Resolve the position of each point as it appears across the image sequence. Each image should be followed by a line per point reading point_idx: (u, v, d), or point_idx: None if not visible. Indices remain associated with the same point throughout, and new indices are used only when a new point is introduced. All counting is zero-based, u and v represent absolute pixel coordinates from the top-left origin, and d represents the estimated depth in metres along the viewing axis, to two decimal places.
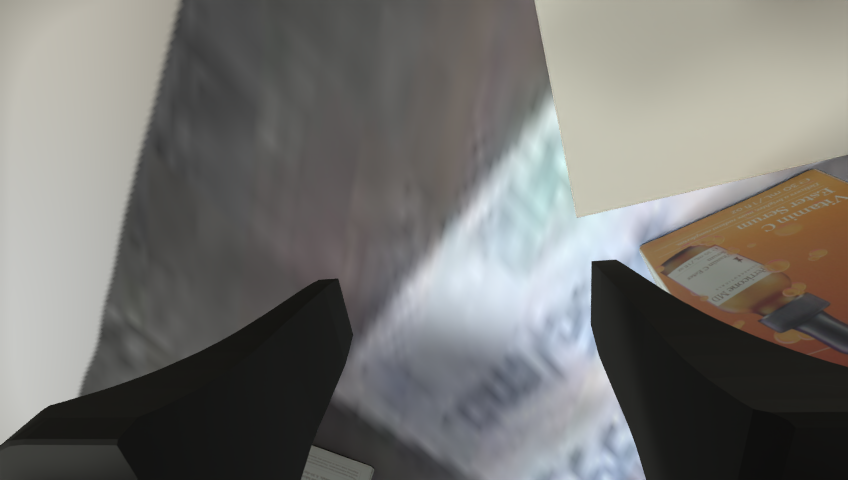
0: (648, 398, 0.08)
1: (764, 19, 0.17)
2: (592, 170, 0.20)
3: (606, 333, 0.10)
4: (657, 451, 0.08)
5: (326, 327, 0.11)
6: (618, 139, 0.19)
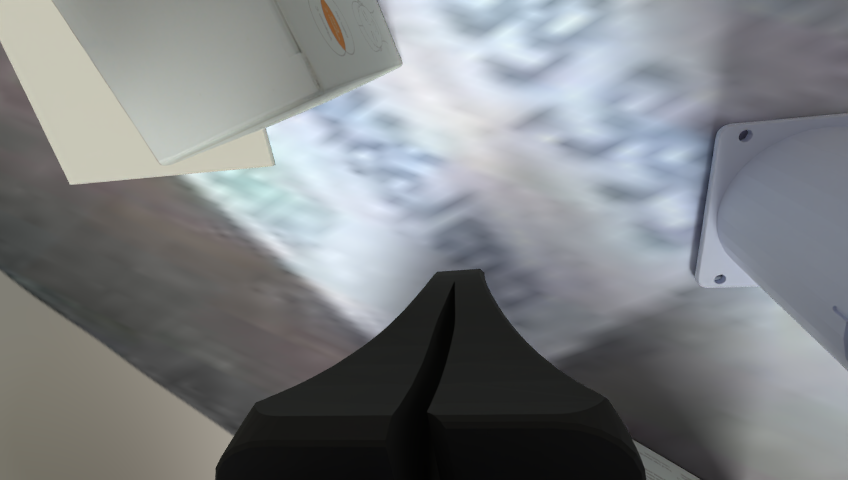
0: None
1: None
2: (229, 150, 0.22)
3: None
4: None
5: None
6: None
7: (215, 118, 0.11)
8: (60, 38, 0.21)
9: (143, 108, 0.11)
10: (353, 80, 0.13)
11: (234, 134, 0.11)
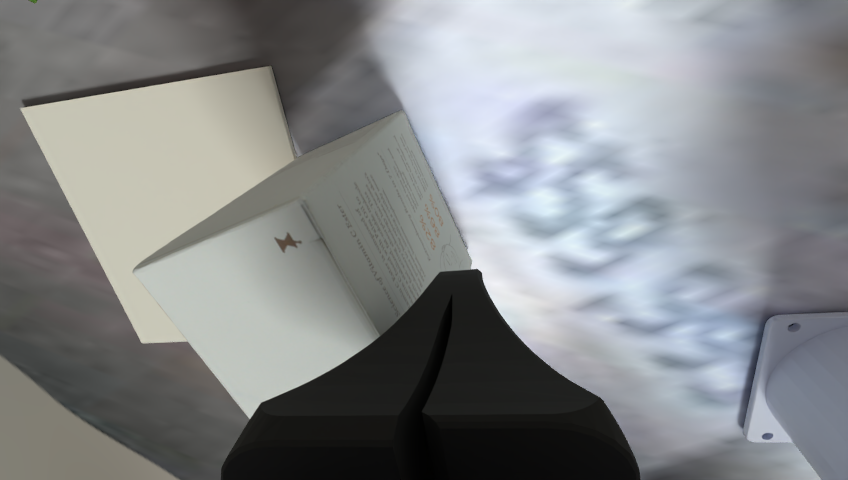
0: None
1: (187, 209, 0.22)
2: None
3: None
4: None
5: None
6: None
7: None
8: (142, 228, 0.23)
9: None
10: None
11: None
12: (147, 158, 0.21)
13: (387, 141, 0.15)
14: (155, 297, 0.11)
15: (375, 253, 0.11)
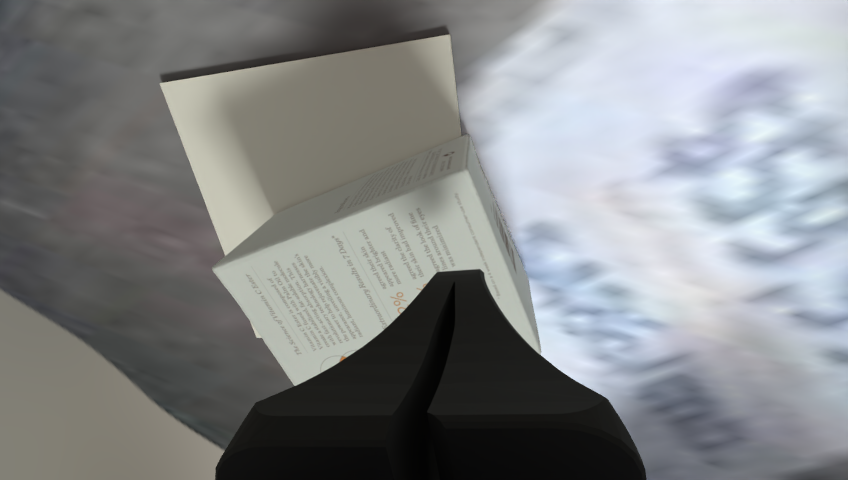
0: None
1: None
2: None
3: None
4: None
5: None
6: None
7: None
8: None
9: None
10: None
11: None
12: (294, 138, 0.19)
13: (364, 222, 0.14)
14: None
15: (281, 306, 0.16)
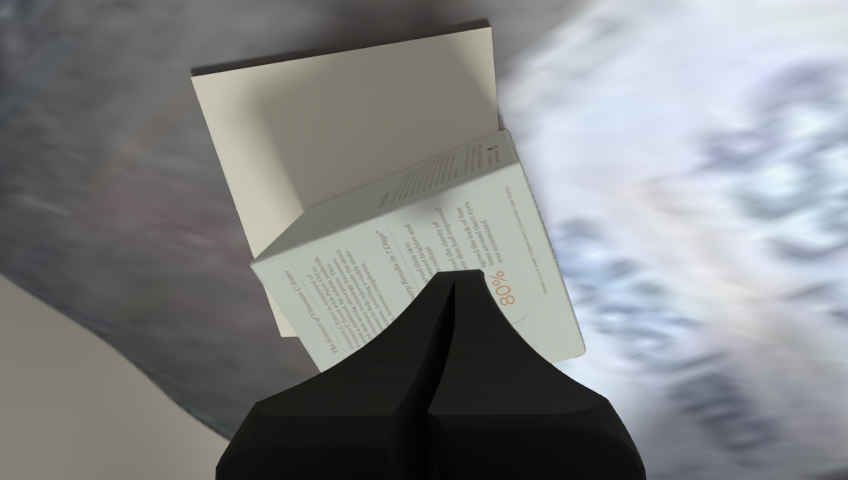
0: None
1: None
2: None
3: None
4: None
5: None
6: None
7: None
8: None
9: None
10: None
11: None
12: (327, 133, 0.19)
13: (410, 217, 0.14)
14: None
15: (319, 304, 0.16)
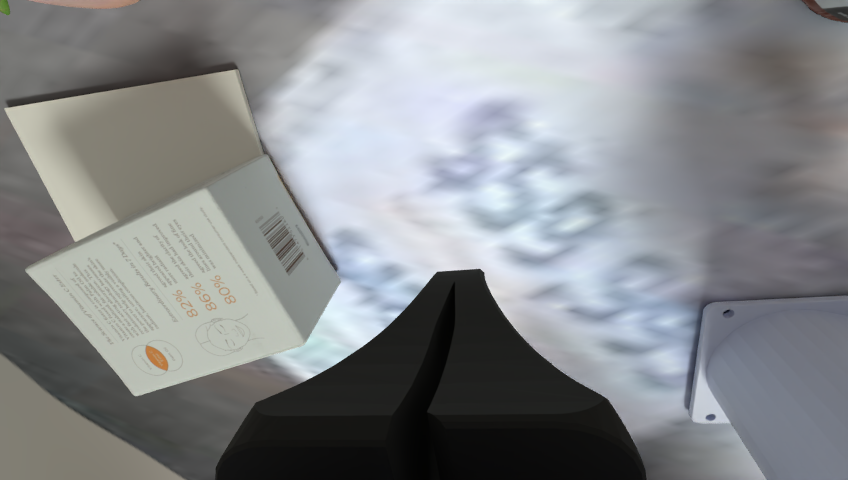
0: None
1: None
2: None
3: None
4: None
5: None
6: None
7: None
8: None
9: None
10: (172, 384, 0.21)
11: None
12: (124, 156, 0.22)
13: (135, 231, 0.17)
14: None
15: (87, 302, 0.19)
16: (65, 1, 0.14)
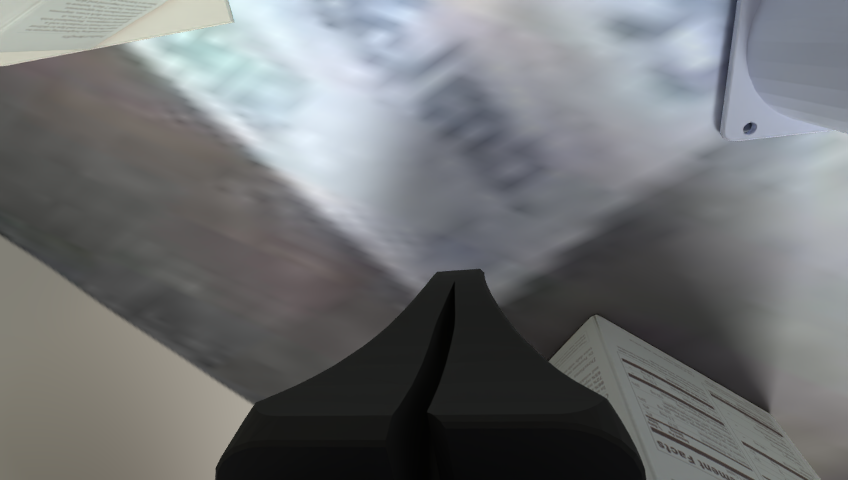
0: None
1: None
2: (180, 4, 0.19)
3: None
4: None
5: None
6: None
7: None
8: None
9: None
10: (12, 20, 0.15)
11: (42, 50, 0.18)
12: None
13: None
14: None
15: None
16: None
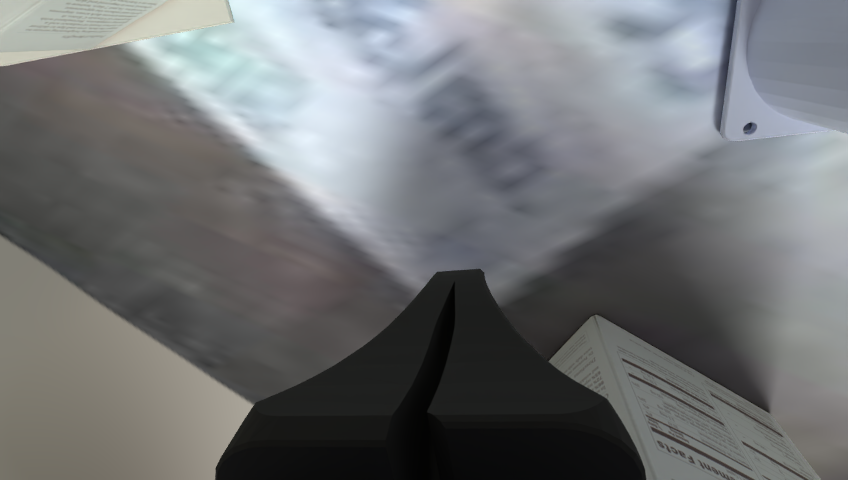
0: None
1: None
2: (180, 4, 0.19)
3: None
4: None
5: None
6: None
7: None
8: None
9: None
10: (12, 20, 0.15)
11: (42, 50, 0.18)
12: None
13: None
14: None
15: None
16: None
